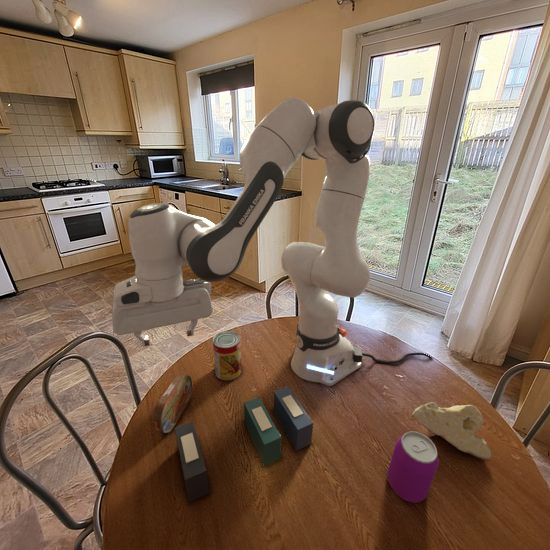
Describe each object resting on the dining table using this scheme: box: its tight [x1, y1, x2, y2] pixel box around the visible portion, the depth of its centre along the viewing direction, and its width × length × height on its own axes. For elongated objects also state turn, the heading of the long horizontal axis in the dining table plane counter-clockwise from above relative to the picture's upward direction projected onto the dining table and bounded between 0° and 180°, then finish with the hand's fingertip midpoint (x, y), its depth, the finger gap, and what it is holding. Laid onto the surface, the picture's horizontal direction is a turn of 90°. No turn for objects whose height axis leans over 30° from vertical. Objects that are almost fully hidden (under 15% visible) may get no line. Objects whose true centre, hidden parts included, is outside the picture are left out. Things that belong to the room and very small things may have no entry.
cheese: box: [411, 400, 492, 460], centre depth 69 cm, size 15×7×15 cm
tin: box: [151, 374, 193, 434], centre depth 73 cm, size 15×3×8 cm, turn 168°
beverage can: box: [387, 430, 440, 504], centre depth 58 cm, size 8×8×12 cm
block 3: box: [272, 385, 314, 451], centre depth 71 cm, size 4×12×7 cm, turn 26°
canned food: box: [212, 330, 242, 381], centre depth 87 cm, size 8×8×12 cm
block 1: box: [174, 420, 210, 503], centre depth 61 cm, size 4×12×7 cm, turn 26°
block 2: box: [243, 396, 282, 467], centre depth 67 cm, size 4×12×7 cm, turn 26°
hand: (168, 339), depth 66 cm, fingers open, 8 cm apart
